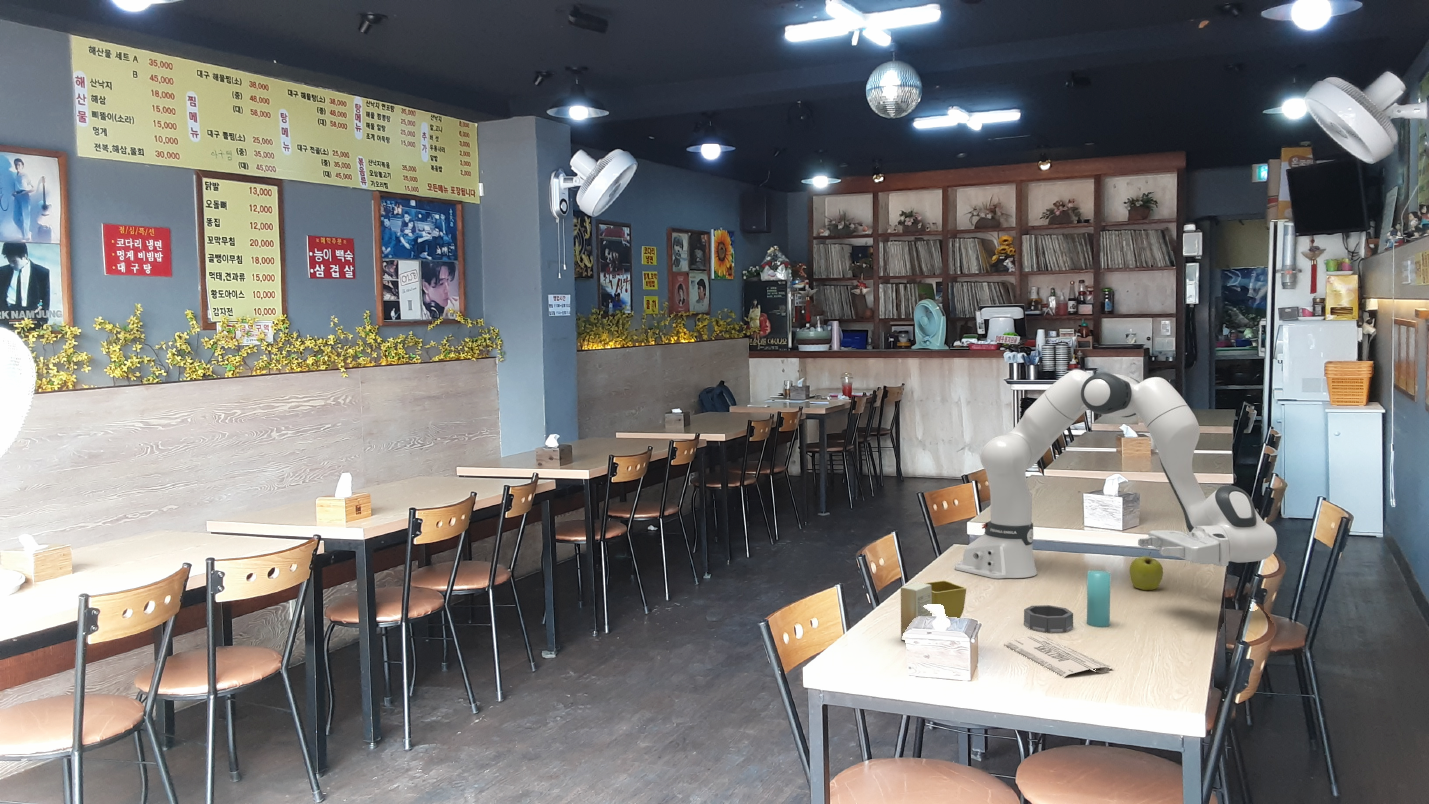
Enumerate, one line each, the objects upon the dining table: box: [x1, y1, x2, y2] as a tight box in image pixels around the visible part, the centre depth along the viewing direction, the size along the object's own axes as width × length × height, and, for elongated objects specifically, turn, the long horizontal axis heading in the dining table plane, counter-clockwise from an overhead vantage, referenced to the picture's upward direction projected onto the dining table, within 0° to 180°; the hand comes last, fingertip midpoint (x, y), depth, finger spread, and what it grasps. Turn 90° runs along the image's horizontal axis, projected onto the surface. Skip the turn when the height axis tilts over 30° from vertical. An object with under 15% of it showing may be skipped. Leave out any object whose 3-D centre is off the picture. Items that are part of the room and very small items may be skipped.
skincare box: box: [900, 581, 932, 639], centre depth 230 cm, size 6×4×12 cm
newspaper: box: [1003, 634, 1114, 678], centre depth 217 cm, size 23×12×2 cm, turn 16°
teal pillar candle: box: [1086, 570, 1112, 628], centre depth 240 cm, size 5×5×12 cm
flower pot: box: [923, 580, 967, 619], centre depth 242 cm, size 9×9×9 cm
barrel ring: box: [1023, 604, 1074, 634], centre depth 239 cm, size 10×10×4 cm
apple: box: [1129, 552, 1164, 591], centre depth 271 cm, size 8×8×10 cm
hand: (1149, 547), depth 241 cm, fingers open, 8 cm apart
